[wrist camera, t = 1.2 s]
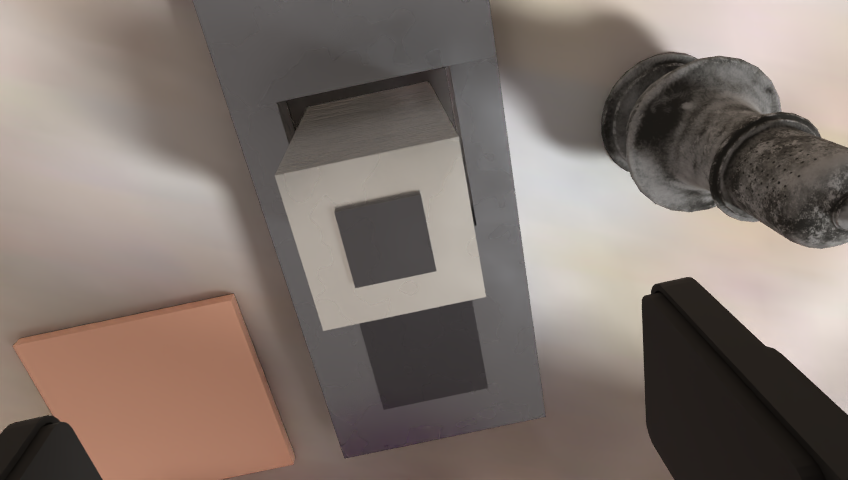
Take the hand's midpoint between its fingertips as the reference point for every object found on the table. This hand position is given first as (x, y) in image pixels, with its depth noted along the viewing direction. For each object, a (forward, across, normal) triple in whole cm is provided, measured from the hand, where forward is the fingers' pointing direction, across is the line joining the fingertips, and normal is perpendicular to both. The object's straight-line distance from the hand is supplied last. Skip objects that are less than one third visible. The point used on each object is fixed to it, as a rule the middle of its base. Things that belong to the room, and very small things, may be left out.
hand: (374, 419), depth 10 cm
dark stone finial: (+17, -12, +2) cm, 21 cm away
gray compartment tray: (+17, 0, +3) cm, 17 cm away
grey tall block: (+17, 0, +1) cm, 17 cm away
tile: (+17, +12, +11) cm, 23 cm away
